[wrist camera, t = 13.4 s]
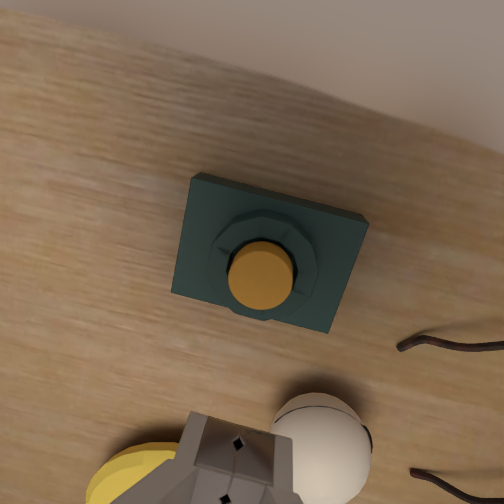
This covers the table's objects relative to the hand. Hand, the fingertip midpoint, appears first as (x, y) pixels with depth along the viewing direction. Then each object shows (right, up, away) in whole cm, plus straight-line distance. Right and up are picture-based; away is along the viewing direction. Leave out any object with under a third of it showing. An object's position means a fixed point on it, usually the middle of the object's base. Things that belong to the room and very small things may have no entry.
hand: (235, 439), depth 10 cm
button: (+1, +4, +11) cm, 12 cm away
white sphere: (+6, -6, +19) cm, 21 cm away
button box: (+1, +6, +15) cm, 16 cm away
